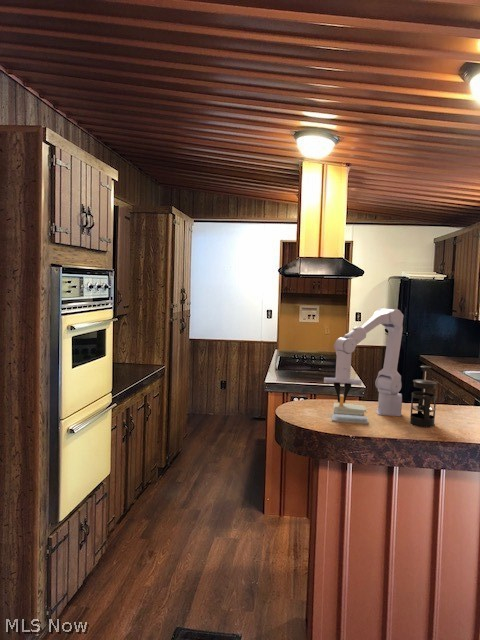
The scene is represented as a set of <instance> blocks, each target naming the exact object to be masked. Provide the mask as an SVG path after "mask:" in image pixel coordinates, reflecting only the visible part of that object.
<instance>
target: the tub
mask: <svg viewBox="0 0 480 640" xmlns="http://www.w3.org/2000/svg"><path fill="white" fill-rule="evenodd" d="M332 410H333V411H334V412H333V414H343V415H356V416H365V415H364V413H365V412H363V413H354V412H345V411H337V409H335V407H334V405H333V406H332Z"/></svg>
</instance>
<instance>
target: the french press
mask: <svg viewBox="0 0 480 640" xmlns="http://www.w3.org/2000/svg"><path fill="white" fill-rule="evenodd" d="M419 367H420V368H423V369H424V379H413V380H412V382H413V387H414V388H417V389H423V391H412V392H411V406H410V418H409V419H410V420H409V424H410V425H411V424H412V426H415V427H420V428H434V427H435V426H436V424H435V417H436V406H437V405H436V403H437V394H435V393H433V392H428V391H427V392H426V390H435V389H436V385H437V384H438V382H437V381H434V380H430V379H429V380H428V379H426V378H427V372H428V369H432V366H430V365H420V366H419ZM414 398H415V399H418V401H417V403H418V404H417V405H414ZM431 401H433V407H431ZM413 411H417V412H414V413H413ZM430 413H432V414H430Z"/></svg>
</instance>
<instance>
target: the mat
mask: <svg viewBox="0 0 480 640" xmlns="http://www.w3.org/2000/svg"><path fill="white" fill-rule="evenodd" d="M330 415H331V422H334V421H335V422H338V423H347V424H348V423H349V424H362V425H369V424H370V423H369V420H368V416H366V415H364V416H356V415H343V414H334V413H331V414H330Z"/></svg>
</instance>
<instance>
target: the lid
mask: <svg viewBox="0 0 480 640" xmlns="http://www.w3.org/2000/svg"><path fill="white" fill-rule="evenodd" d="M343 401H344V393H342V394H341V393H340V402H335V401H334V403H333V406H334V407H335V409H337V411H345V412H354V413H363V412H364V413H367V408H366V406H365V405H361V404H353V403H351V404H350V403H343Z"/></svg>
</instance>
